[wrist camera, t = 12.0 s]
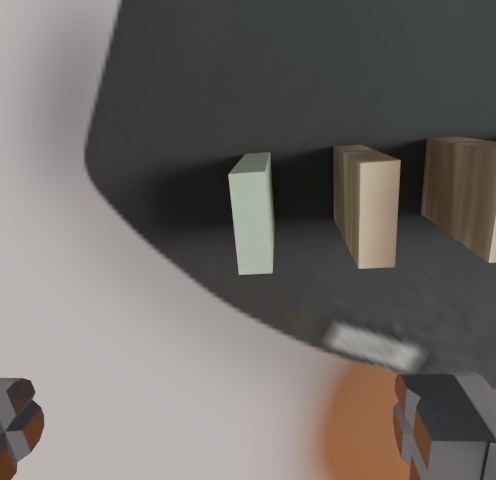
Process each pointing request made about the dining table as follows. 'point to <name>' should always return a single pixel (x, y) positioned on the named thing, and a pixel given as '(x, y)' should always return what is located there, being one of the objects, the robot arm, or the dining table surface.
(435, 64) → the dining table surface
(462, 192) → the domino
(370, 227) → the domino
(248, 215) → the end domino
